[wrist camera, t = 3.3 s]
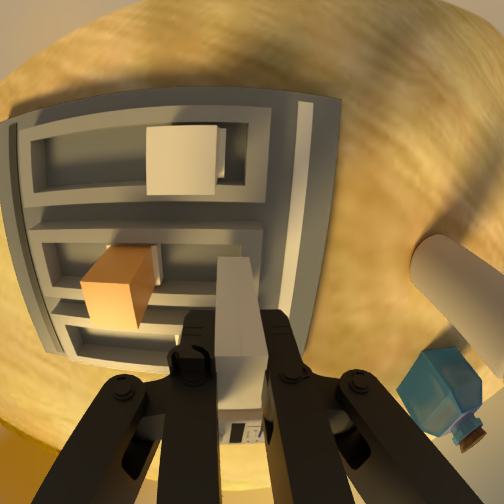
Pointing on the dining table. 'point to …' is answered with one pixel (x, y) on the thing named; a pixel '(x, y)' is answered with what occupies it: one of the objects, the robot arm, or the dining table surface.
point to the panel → (166, 210)
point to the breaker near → (184, 159)
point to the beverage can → (464, 294)
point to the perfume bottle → (444, 396)
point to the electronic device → (240, 426)
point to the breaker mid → (122, 284)
